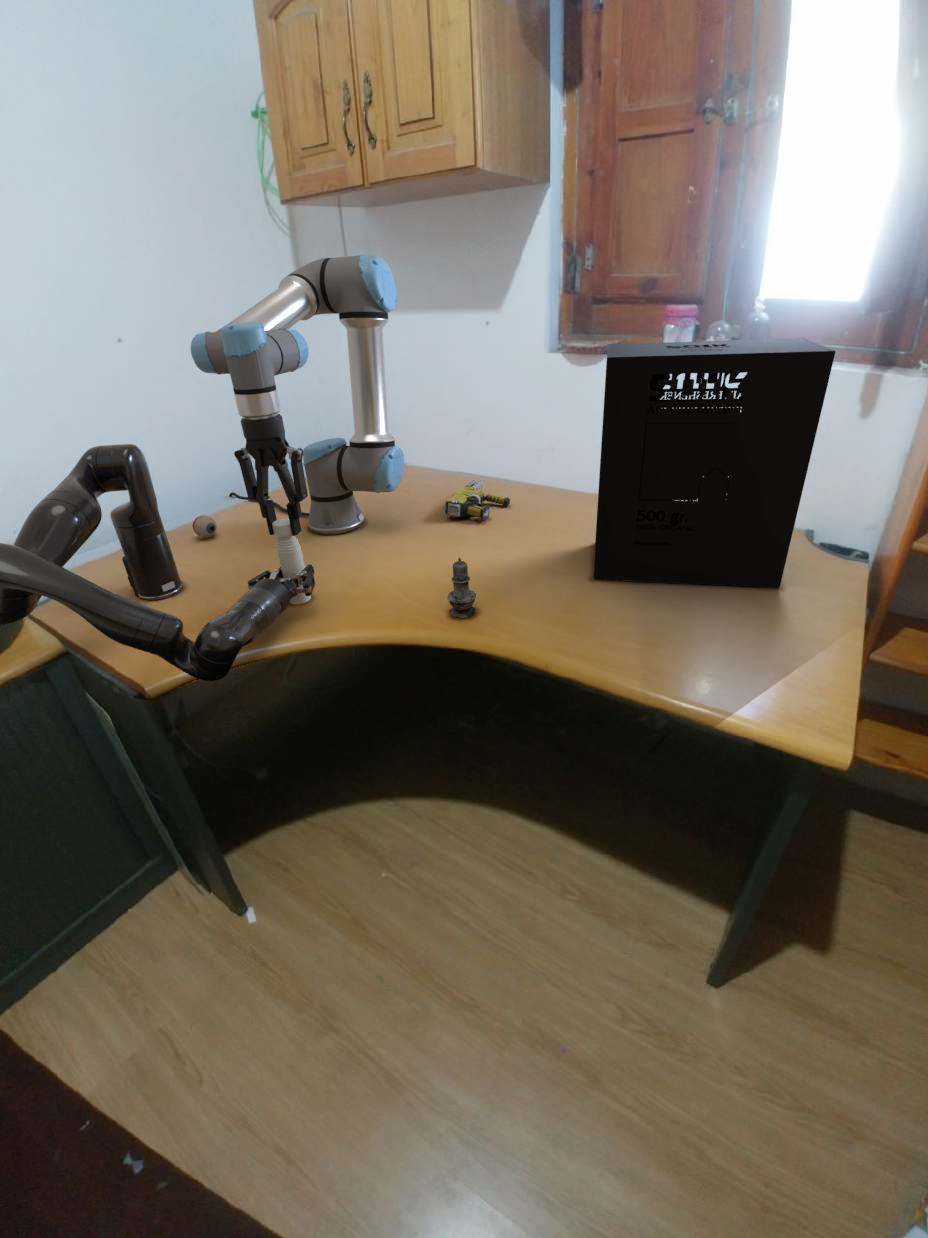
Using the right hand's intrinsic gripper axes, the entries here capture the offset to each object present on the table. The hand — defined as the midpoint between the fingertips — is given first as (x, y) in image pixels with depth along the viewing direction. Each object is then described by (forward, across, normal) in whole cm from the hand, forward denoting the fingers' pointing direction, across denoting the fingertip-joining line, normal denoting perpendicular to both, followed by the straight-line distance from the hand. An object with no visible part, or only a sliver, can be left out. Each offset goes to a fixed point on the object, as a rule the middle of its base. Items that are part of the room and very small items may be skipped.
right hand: (285, 532), depth 124 cm
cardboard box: (+16, -81, -26) cm, 87 cm away
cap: (-2, 0, 0) cm, 2 cm away
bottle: (+15, 0, 0) cm, 15 cm away
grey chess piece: (+15, -37, +2) cm, 40 cm away
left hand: (+9, 0, -3) cm, 10 cm away
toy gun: (+15, -30, -60) cm, 68 cm away
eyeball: (+15, +42, -32) cm, 55 cm away
